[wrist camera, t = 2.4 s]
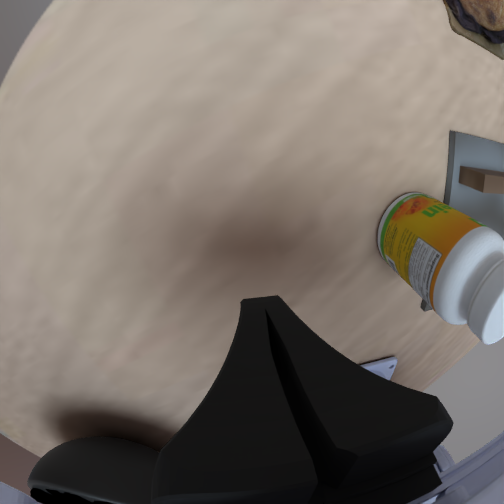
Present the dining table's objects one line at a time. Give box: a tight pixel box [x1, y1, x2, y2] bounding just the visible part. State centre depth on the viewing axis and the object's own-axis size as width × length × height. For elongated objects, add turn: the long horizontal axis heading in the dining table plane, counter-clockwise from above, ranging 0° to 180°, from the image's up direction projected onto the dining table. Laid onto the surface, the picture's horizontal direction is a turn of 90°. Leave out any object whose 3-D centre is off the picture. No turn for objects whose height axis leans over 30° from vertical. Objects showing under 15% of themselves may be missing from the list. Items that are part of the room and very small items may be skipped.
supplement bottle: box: [378, 192, 504, 344], centre depth 13 cm, size 5×5×10 cm
